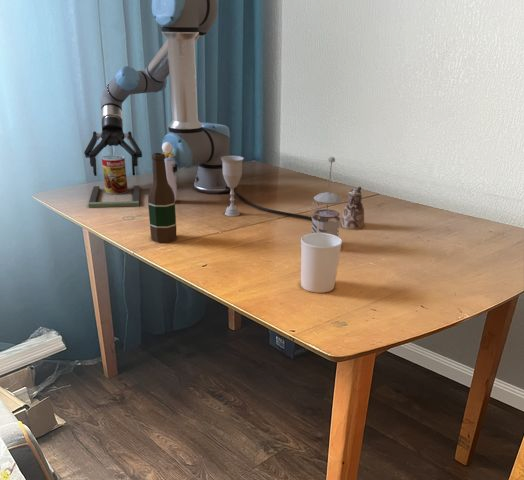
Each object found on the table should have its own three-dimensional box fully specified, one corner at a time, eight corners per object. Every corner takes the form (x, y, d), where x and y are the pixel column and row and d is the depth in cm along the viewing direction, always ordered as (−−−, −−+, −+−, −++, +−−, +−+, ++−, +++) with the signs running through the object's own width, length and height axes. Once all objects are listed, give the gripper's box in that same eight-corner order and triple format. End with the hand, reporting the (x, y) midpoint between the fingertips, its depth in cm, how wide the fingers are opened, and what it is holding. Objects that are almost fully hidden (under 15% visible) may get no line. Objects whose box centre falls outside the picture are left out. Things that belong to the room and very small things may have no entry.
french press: (318, 253, 155) (326, 162, 141) (297, 240, 163) (303, 153, 150) (347, 248, 159) (357, 159, 145) (325, 235, 167) (333, 150, 154)
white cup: (295, 277, 140) (298, 232, 134) (333, 277, 141) (337, 232, 134) (300, 294, 132) (304, 247, 125) (340, 294, 132) (346, 247, 126)
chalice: (244, 211, 185) (245, 156, 176) (241, 217, 180) (242, 161, 170) (223, 210, 186) (222, 155, 176) (219, 216, 180) (219, 159, 171)
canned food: (114, 195, 197) (110, 161, 190) (101, 191, 201) (97, 157, 195) (132, 191, 202) (128, 157, 195) (119, 187, 206) (115, 154, 200)
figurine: (336, 225, 176) (340, 187, 170) (349, 220, 180) (353, 183, 174) (354, 230, 172) (359, 192, 166) (367, 225, 176) (372, 188, 170)
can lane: (94, 189, 202) (93, 186, 202) (139, 188, 205) (139, 185, 205) (88, 207, 184) (88, 204, 183) (139, 206, 187) (138, 202, 186)
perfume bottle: (160, 203, 190) (156, 143, 179) (163, 199, 195) (159, 139, 184) (177, 204, 190) (174, 144, 179) (179, 199, 195) (177, 140, 184)
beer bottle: (182, 236, 163) (177, 152, 151) (169, 244, 157) (164, 158, 144) (158, 232, 165) (152, 149, 153) (145, 240, 159) (138, 155, 147)
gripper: (147, 128, 208) (150, 178, 203) (78, 128, 204) (80, 179, 199) (145, 115, 201) (149, 167, 196) (75, 115, 197) (76, 168, 192)
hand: (114, 173), depth 198 cm, fingers open, 13 cm apart
